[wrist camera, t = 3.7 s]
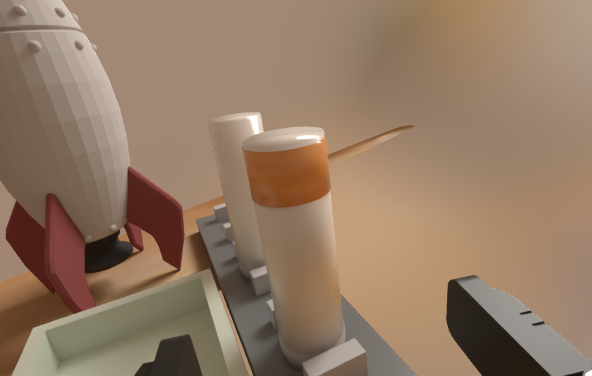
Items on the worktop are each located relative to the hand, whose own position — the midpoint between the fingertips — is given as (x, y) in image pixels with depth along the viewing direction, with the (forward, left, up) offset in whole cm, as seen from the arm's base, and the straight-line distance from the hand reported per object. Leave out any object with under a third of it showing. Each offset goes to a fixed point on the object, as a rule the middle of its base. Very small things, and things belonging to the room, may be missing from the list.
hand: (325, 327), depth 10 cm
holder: (+2, +15, -9) cm, 18 cm away
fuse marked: (+2, +6, -7) cm, 10 cm away
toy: (-10, +23, -9) cm, 27 cm away
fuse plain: (+2, +15, -7) cm, 17 cm away
